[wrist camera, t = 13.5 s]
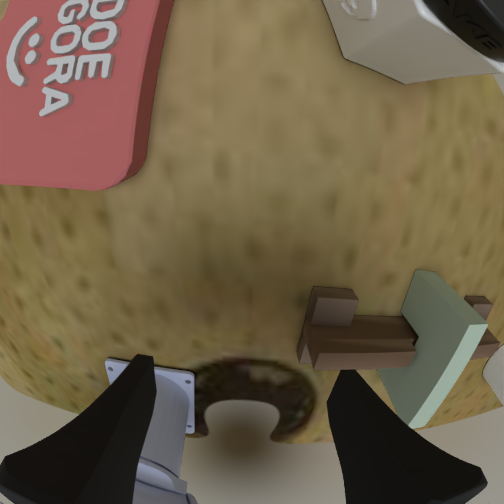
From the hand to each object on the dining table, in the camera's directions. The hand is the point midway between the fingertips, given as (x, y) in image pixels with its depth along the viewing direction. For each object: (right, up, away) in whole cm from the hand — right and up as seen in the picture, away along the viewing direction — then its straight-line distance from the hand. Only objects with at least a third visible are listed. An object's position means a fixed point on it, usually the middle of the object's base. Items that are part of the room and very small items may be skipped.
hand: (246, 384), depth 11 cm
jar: (+9, +20, +3) cm, 22 cm away
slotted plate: (+13, -1, +12) cm, 18 cm away
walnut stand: (+13, -1, +12) cm, 18 cm away
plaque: (-13, +19, +4) cm, 23 cm away
